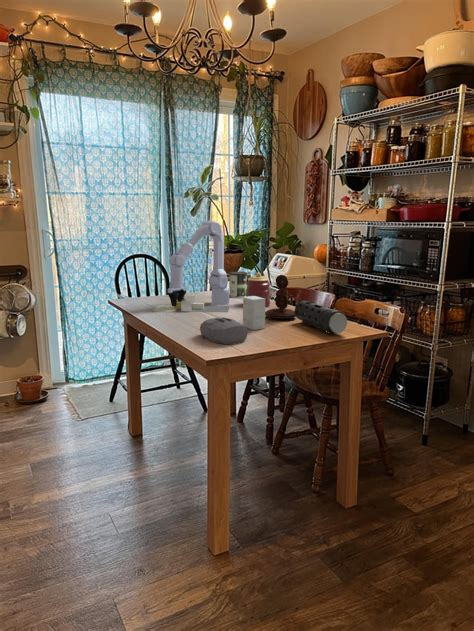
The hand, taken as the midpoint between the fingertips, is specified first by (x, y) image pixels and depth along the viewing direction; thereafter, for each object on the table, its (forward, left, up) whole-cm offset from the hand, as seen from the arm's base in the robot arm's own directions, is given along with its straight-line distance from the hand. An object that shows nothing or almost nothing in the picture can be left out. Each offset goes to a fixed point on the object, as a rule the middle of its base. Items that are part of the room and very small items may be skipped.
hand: (176, 305), depth 245 cm
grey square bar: (-6, 0, -2) cm, 6 cm away
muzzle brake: (-66, +38, -2) cm, 76 cm away
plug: (-6, 0, -1) cm, 6 cm away
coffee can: (-30, -40, -2) cm, 50 cm away
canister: (-41, -13, -2) cm, 43 cm away
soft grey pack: (-25, +56, -2) cm, 61 cm away
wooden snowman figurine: (-51, +17, -2) cm, 54 cm away
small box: (-38, +37, -2) cm, 53 cm away
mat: (-8, 0, -2) cm, 8 cm away
